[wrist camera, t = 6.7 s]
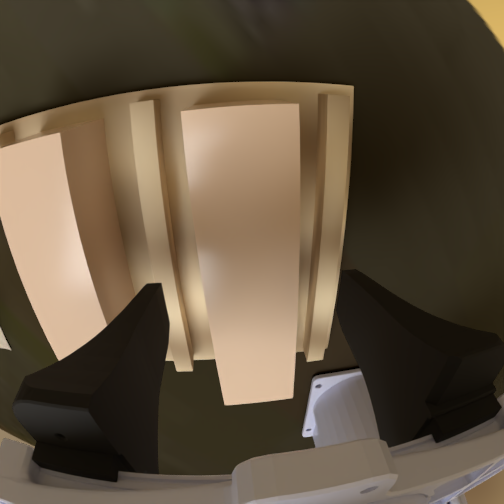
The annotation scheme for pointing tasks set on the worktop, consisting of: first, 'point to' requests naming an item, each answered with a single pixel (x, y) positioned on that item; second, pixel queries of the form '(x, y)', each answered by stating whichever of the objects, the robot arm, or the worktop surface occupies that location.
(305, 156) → the rack
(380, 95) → the worktop surface
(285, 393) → the clay bar
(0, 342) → the condiment
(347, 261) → the worktop surface
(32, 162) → the clay bar
